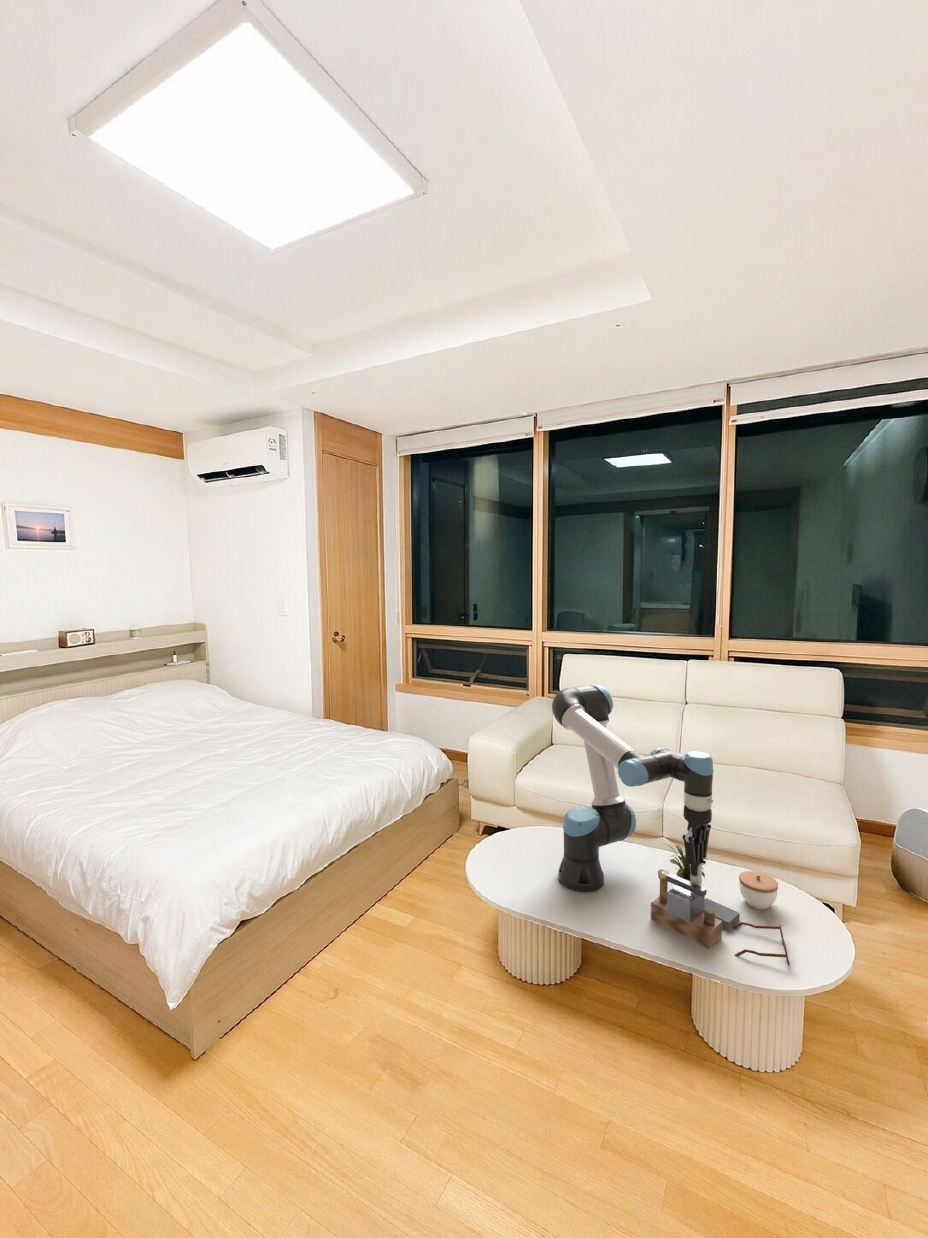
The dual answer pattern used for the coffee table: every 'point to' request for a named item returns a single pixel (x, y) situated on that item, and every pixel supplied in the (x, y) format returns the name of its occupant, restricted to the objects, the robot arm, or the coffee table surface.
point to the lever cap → (684, 904)
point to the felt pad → (723, 914)
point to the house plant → (682, 871)
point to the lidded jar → (758, 889)
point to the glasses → (763, 953)
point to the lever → (681, 882)
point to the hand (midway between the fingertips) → (695, 884)
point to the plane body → (699, 930)
